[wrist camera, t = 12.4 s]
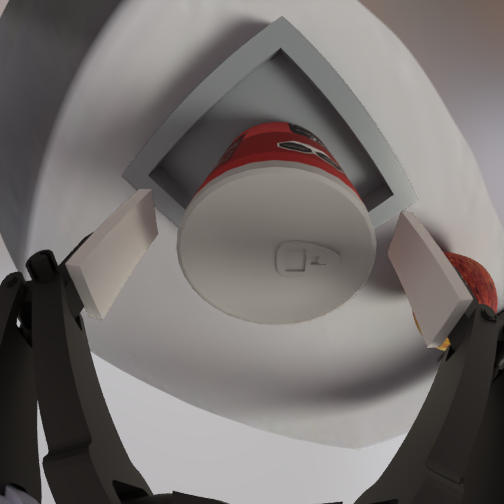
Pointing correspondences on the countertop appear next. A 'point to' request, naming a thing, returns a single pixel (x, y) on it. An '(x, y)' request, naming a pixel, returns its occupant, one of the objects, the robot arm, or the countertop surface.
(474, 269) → the apple
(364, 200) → the tray
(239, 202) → the canned food
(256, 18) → the countertop surface
